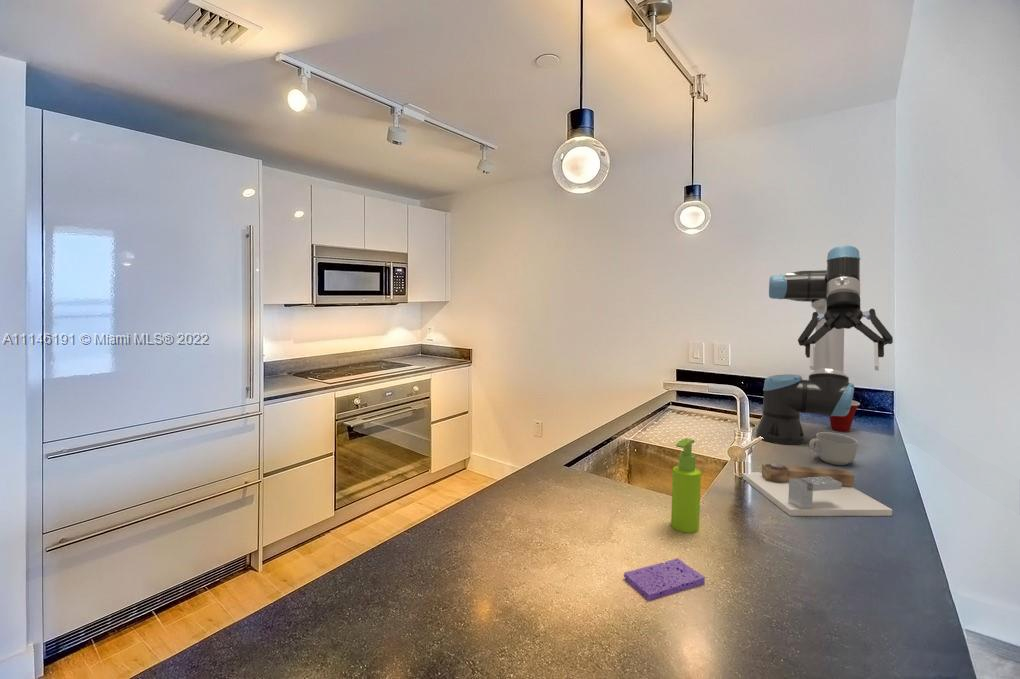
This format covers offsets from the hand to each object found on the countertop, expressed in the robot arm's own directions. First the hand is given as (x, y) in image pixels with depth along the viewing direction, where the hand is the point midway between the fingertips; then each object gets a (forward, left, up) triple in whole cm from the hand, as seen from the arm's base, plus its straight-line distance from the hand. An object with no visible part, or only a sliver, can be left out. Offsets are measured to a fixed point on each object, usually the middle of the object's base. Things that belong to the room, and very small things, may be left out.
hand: (843, 368), depth 120 cm
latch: (-4, -6, -31) cm, 32 cm away
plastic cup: (-58, +42, -33) cm, 79 cm away
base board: (+2, -8, -33) cm, 34 cm away
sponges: (+39, -58, -34) cm, 77 cm away
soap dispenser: (+19, -47, -33) cm, 60 cm away
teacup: (-23, +14, -33) cm, 43 cm away
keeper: (+10, -12, -33) cm, 37 cm away
